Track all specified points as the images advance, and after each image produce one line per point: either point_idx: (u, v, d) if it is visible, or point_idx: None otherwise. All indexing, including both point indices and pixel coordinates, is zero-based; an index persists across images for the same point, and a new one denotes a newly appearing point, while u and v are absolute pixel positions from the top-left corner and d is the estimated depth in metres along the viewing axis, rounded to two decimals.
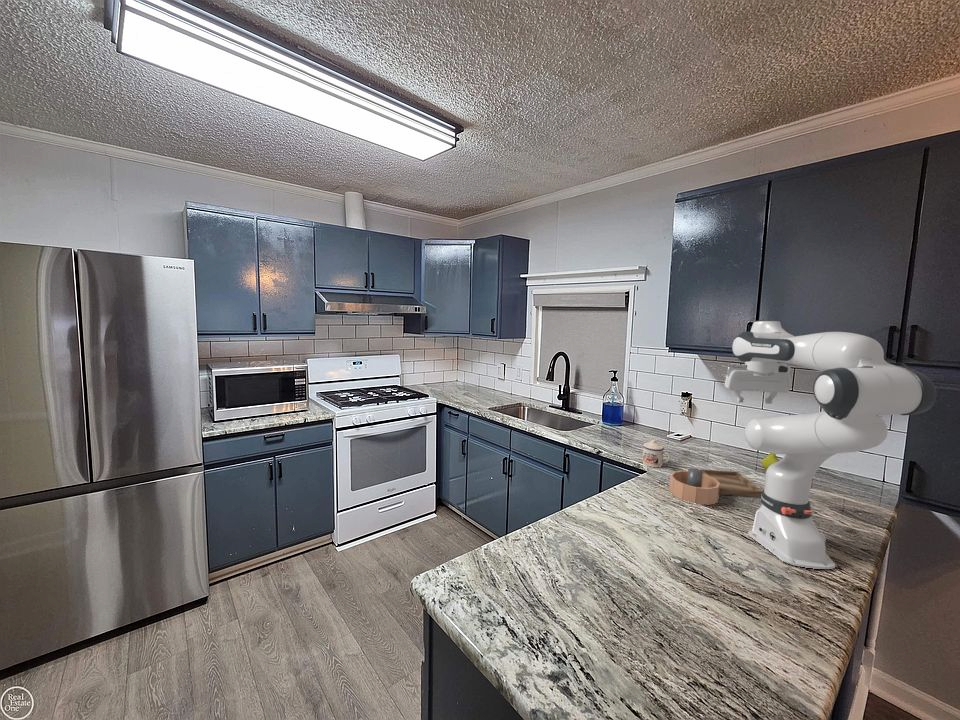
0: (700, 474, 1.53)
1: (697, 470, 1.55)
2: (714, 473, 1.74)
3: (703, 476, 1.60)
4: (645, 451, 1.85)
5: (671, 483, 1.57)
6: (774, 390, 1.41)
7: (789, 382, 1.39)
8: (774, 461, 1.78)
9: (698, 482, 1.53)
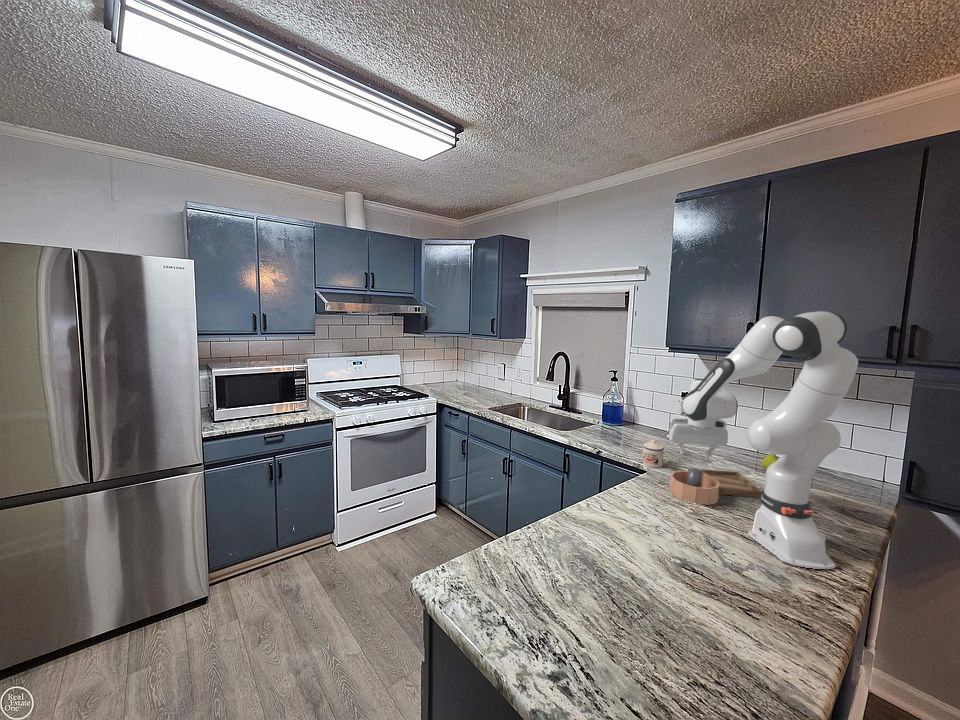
0: (700, 474, 1.53)
1: (697, 470, 1.55)
2: (714, 473, 1.74)
3: (703, 476, 1.60)
4: (645, 451, 1.85)
5: (671, 483, 1.57)
6: (713, 443, 1.51)
7: (726, 436, 1.50)
8: (774, 461, 1.78)
9: (698, 482, 1.53)
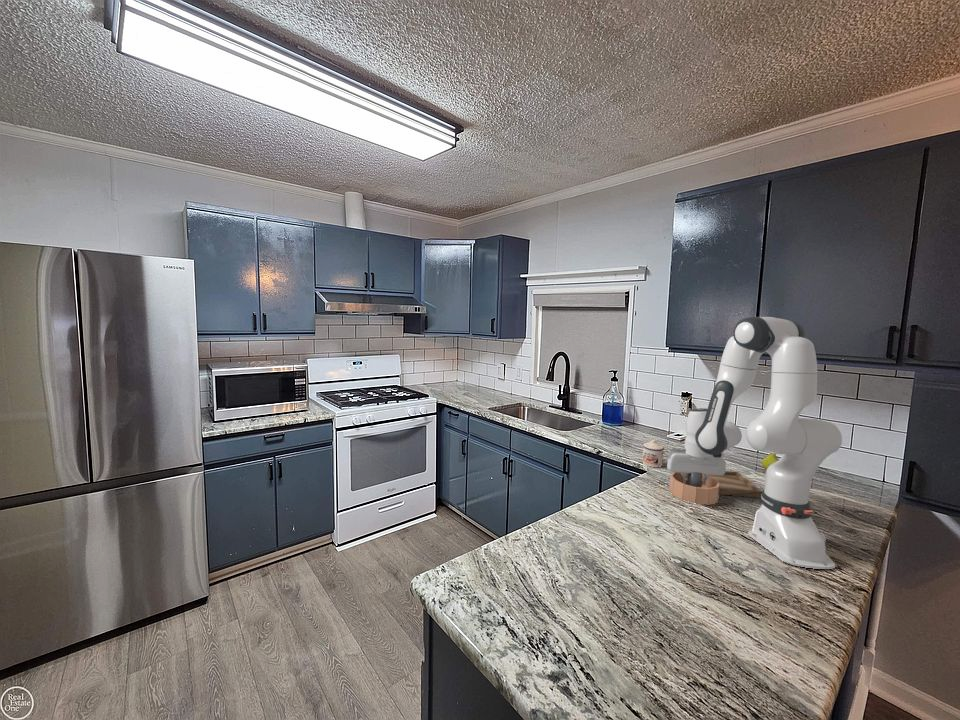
0: (700, 474, 1.53)
1: None
2: None
3: (703, 476, 1.60)
4: (645, 451, 1.85)
5: (671, 483, 1.57)
6: (711, 473, 1.52)
7: (724, 466, 1.51)
8: (774, 461, 1.78)
9: (698, 482, 1.53)
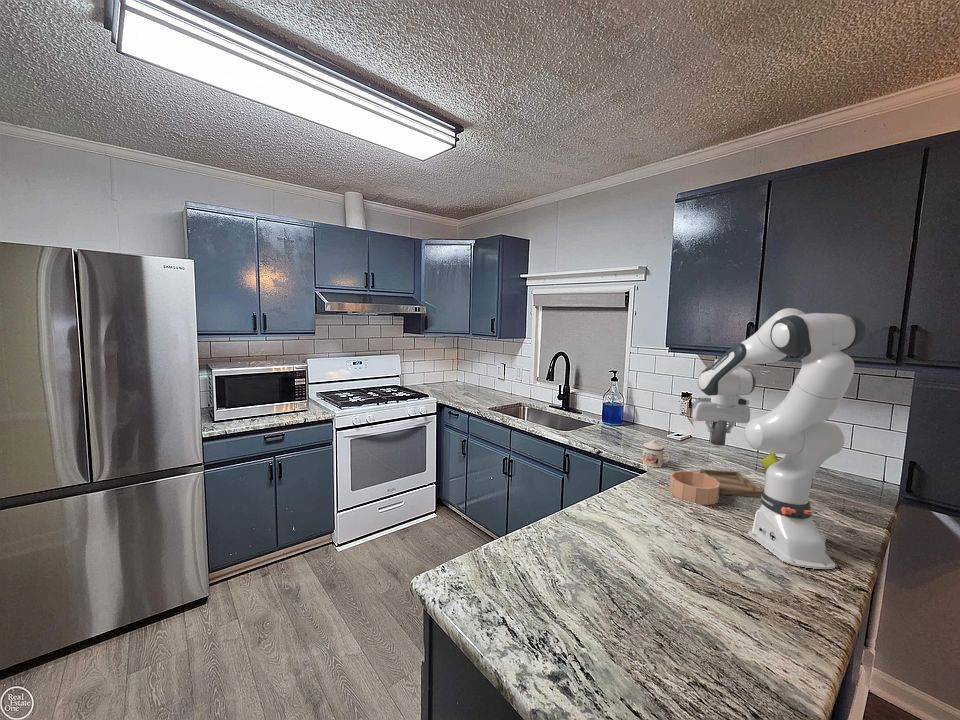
0: (725, 422, 1.56)
1: None
2: (714, 473, 1.74)
3: (703, 476, 1.60)
4: (645, 451, 1.85)
5: (671, 483, 1.57)
6: (736, 421, 1.56)
7: (748, 414, 1.54)
8: (774, 461, 1.78)
9: (723, 430, 1.56)
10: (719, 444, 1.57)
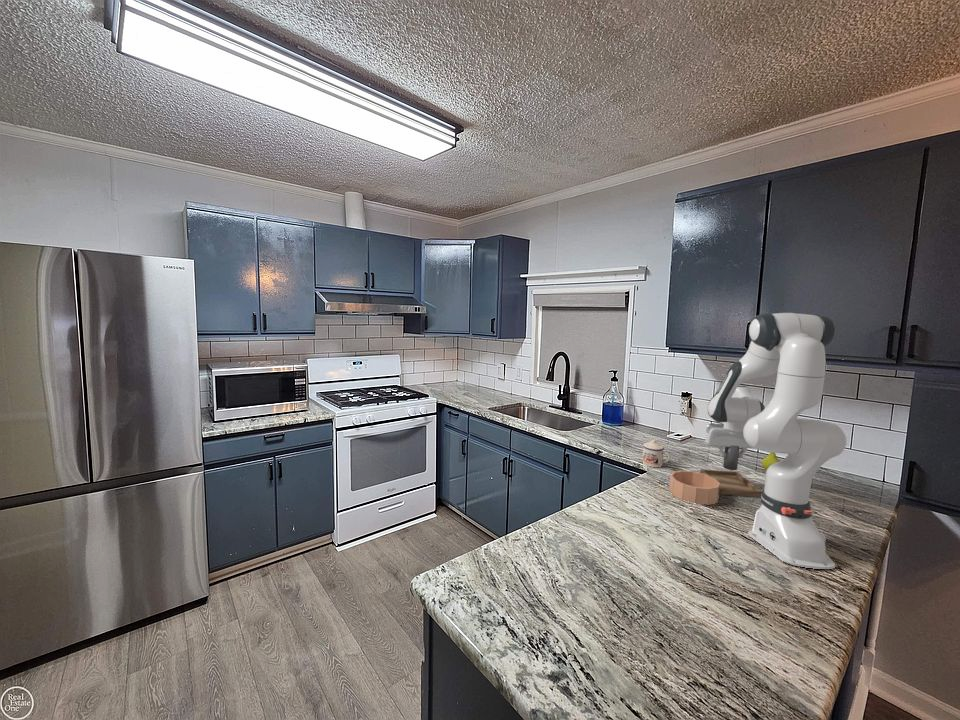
0: (737, 447, 1.61)
1: None
2: (714, 473, 1.74)
3: (703, 476, 1.60)
4: (645, 451, 1.85)
5: (671, 483, 1.57)
6: (748, 446, 1.61)
7: None
8: (774, 461, 1.78)
9: (736, 455, 1.61)
10: (732, 468, 1.62)
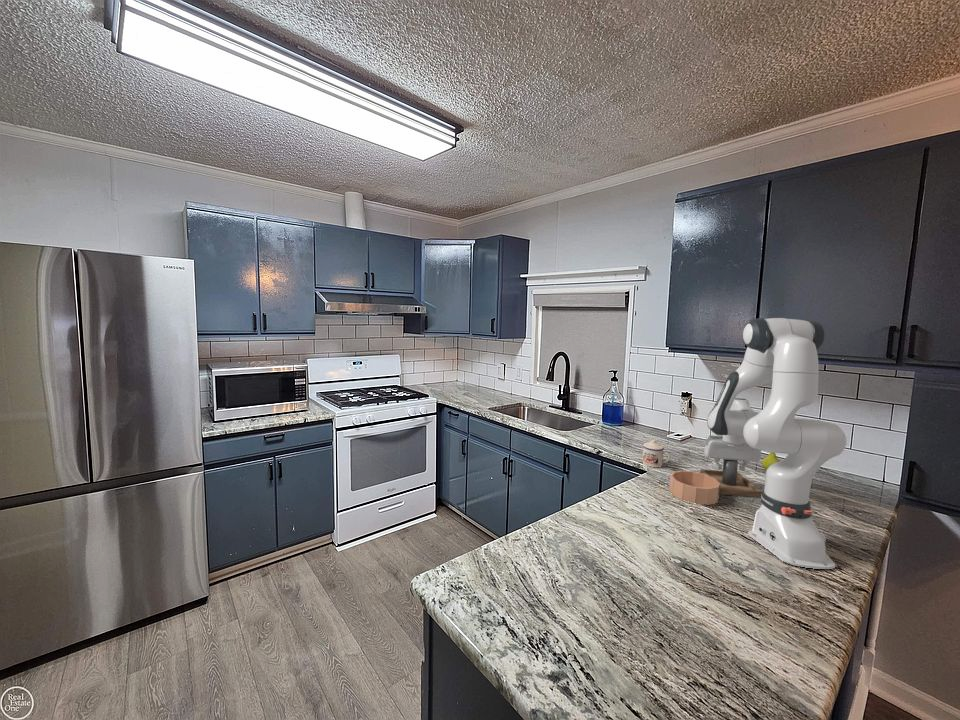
0: (735, 463, 1.62)
1: (732, 460, 1.64)
2: (714, 473, 1.74)
3: (703, 476, 1.60)
4: (645, 451, 1.85)
5: (671, 483, 1.57)
6: (747, 459, 1.61)
7: (759, 452, 1.60)
8: (774, 461, 1.78)
9: (734, 470, 1.62)
10: (730, 484, 1.63)
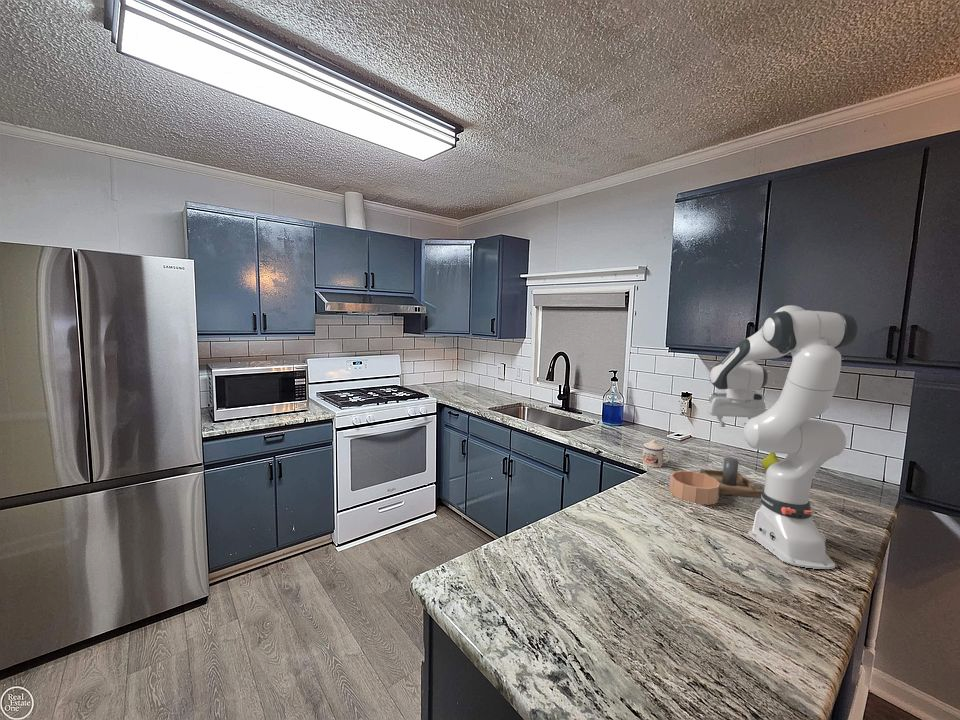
0: (736, 463, 1.62)
1: (733, 460, 1.64)
2: (714, 473, 1.74)
3: (703, 476, 1.60)
4: (645, 451, 1.85)
5: (671, 483, 1.57)
6: (751, 416, 1.59)
7: (764, 408, 1.58)
8: (774, 461, 1.78)
9: (735, 471, 1.62)
10: (730, 484, 1.63)
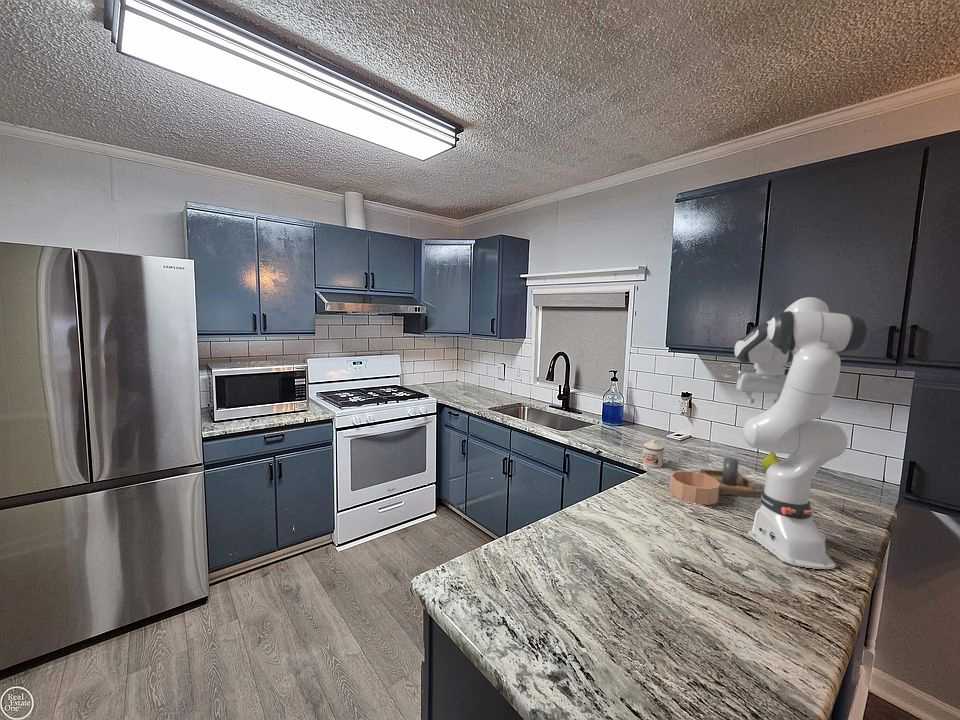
0: (736, 463, 1.62)
1: (733, 460, 1.64)
2: (714, 473, 1.74)
3: (703, 476, 1.60)
4: (645, 451, 1.85)
5: (671, 483, 1.57)
6: (781, 392, 1.56)
7: None
8: (774, 461, 1.78)
9: (735, 471, 1.62)
10: (730, 484, 1.63)
